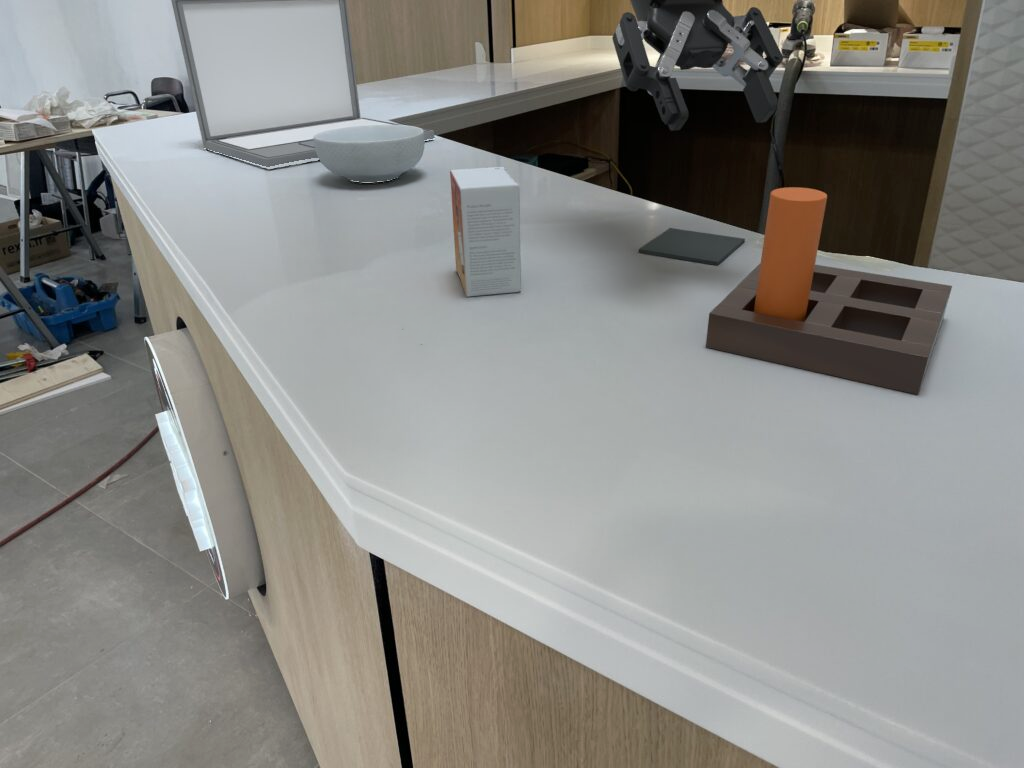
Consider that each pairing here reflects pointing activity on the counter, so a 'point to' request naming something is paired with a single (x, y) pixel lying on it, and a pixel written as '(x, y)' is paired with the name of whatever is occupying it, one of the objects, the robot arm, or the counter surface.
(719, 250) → the mat
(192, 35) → the laptop
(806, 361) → the peg board
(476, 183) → the small box
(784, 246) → the peg
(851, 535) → the counter surface
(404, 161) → the cereal bowl
